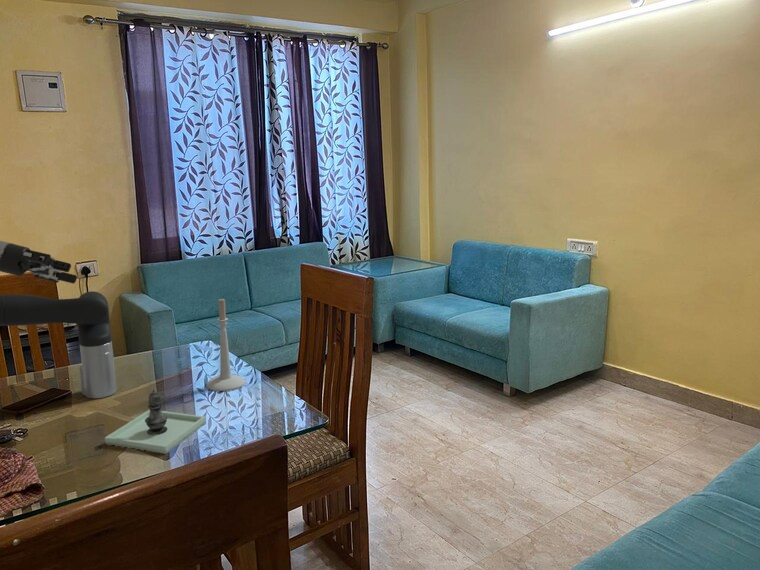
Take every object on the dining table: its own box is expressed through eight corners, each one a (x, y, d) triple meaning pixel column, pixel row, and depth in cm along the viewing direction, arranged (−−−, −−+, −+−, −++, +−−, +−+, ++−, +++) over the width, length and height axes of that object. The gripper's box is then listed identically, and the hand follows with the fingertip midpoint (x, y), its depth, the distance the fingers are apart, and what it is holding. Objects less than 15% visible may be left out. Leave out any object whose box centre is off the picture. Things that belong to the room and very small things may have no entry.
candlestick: (252, 380, 197) (249, 295, 191) (231, 393, 185) (227, 304, 179) (221, 375, 201) (216, 292, 195) (198, 388, 189) (192, 300, 183)
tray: (105, 444, 151) (104, 437, 151) (150, 415, 169) (149, 409, 168) (166, 453, 146) (165, 446, 146) (206, 423, 164) (205, 416, 163)
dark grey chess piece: (160, 436, 154) (157, 394, 151) (141, 434, 155) (137, 393, 153) (172, 427, 159) (169, 386, 157) (154, 425, 161) (150, 385, 158)
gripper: (7, 280, 149) (72, 296, 152) (-11, 259, 136) (62, 277, 139) (18, 254, 152) (83, 270, 155) (3, 232, 139) (73, 250, 142)
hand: (73, 274), depth 147 cm, fingers open, 8 cm apart
